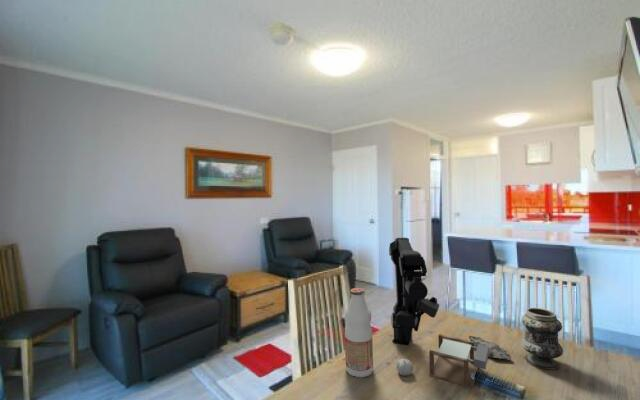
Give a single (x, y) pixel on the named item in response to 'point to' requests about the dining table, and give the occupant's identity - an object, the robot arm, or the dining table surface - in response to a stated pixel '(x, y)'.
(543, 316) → the apothecary jar
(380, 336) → the dining table surface
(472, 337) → the mineral rock
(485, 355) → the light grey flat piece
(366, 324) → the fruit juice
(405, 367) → the garlic
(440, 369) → the stand
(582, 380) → the dining table surface
